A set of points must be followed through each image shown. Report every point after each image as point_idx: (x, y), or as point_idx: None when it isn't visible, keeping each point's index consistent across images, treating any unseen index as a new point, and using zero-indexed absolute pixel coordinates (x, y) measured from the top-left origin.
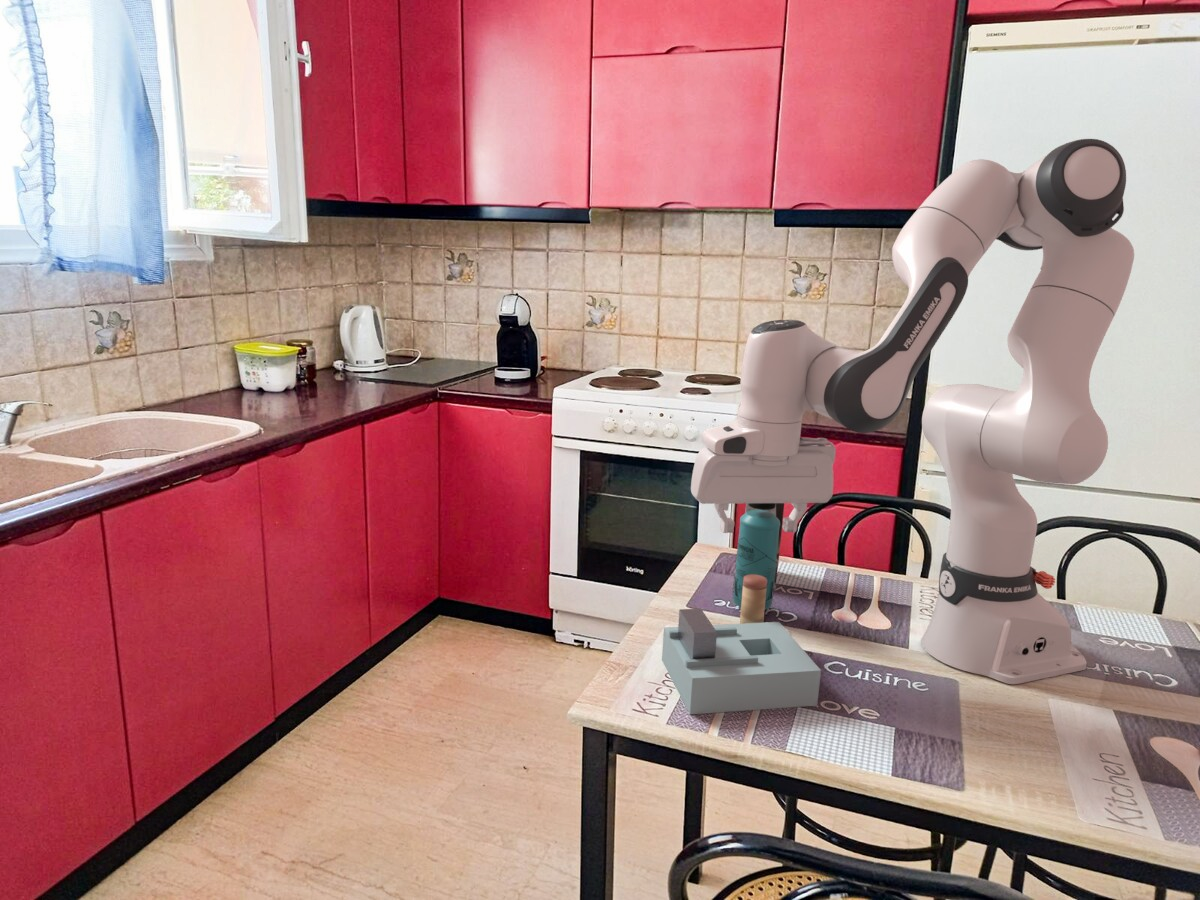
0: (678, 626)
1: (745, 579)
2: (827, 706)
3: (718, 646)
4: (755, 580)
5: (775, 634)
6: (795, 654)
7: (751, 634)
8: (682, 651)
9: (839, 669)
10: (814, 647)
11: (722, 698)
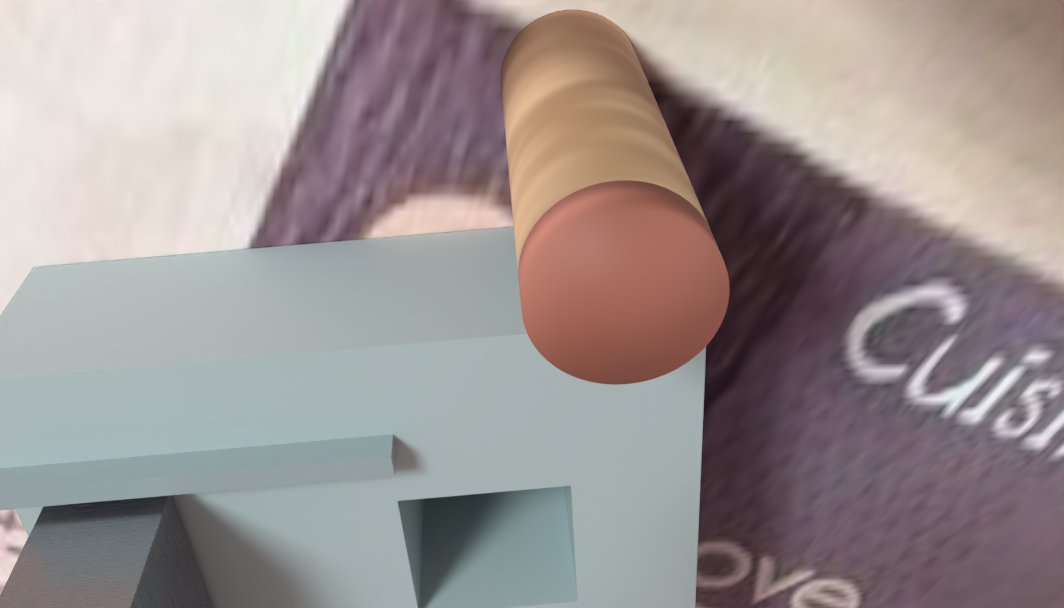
0: (23, 551)
1: (532, 310)
2: (700, 571)
3: (273, 555)
4: (615, 327)
5: (619, 451)
6: (639, 603)
7: (483, 449)
8: None
9: (907, 350)
10: (915, 150)
11: None
